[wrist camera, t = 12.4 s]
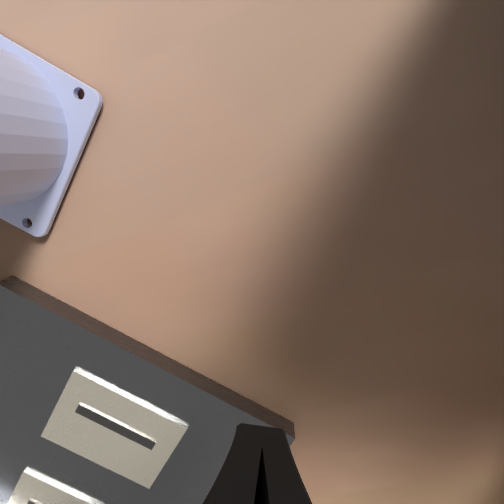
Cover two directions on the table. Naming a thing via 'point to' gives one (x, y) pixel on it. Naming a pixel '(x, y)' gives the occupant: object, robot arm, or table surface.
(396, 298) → the table surface
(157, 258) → the table surface
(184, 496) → the panel
